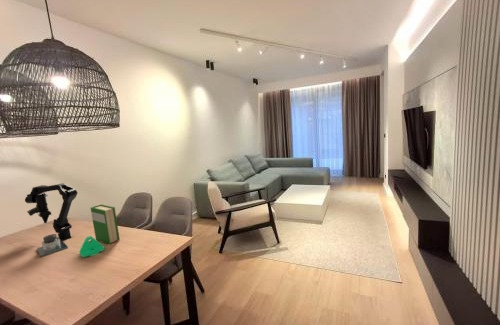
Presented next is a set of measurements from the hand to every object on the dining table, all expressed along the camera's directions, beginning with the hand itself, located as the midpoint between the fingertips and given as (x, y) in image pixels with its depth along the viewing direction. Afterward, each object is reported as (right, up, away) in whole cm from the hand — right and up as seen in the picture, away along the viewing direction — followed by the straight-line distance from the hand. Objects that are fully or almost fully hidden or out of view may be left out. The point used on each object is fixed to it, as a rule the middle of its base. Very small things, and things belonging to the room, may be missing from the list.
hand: (45, 223), depth 181 cm
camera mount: (+53, -13, -27) cm, 61 cm away
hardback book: (+52, -10, -9) cm, 53 cm away
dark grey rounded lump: (+19, -10, -18) cm, 27 cm away
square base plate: (+19, -13, -17) cm, 29 cm away
